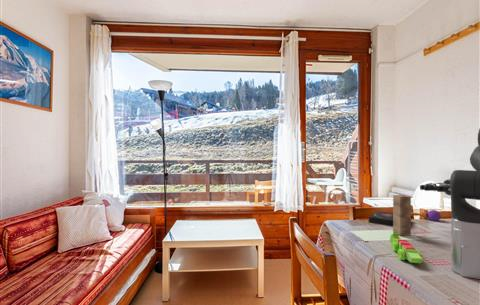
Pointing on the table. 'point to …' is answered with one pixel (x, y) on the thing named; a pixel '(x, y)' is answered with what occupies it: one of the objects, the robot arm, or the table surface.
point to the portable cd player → (382, 218)
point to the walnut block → (402, 215)
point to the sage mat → (380, 235)
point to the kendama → (429, 215)
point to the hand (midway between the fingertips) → (422, 187)
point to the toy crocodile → (405, 249)
